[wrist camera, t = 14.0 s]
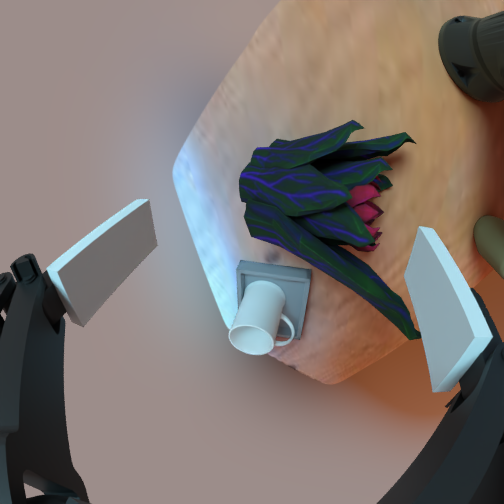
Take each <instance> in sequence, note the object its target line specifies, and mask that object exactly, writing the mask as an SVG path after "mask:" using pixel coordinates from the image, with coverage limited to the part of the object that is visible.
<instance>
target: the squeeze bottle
mask: <svg viewBox="0 0 504 504" xmlns="http://www.w3.org/2000/svg"><path fill="white" fill-rule="evenodd" d="M474 238H475V242H476V246H477V249H478V252H479V254H480V255H481V256H482V257H483V258H484V259H485V260H486V261H487V262H488V263H489V264H490V265H491V266H492V267H493V268H494V269H495V271H496V272H497V273H498V274H499V275H500V276H501V277H502V278H503V279H504V220H503V219H500V218H497V217H493V216H489V215H486V216H483V217H481V218H480V219H479V220H478V221H477V223H476V225H475V227H474Z"/></svg>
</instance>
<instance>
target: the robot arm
mask: <svg viewBox="0 0 504 504" xmlns="http://www.w3.org/2000/svg"><path fill="white" fill-rule="evenodd" d="M438 43H439V51H440V55H441V58H442V61H443V63H444V66H445V68H446V70H447V72H448V73H449V75H450V76H451V78H452V79H453V81H454V82H455V83H456V84H457V85H458V87H459V88H460V89H462V90H463V91H464V92H465V93H466V94H468V95H469V96H471V97H472V98H474V99H476V100H479V101H484V102H499V101H502V100H504V11H501V12H498V13H496V14H493V15H490V16H487V17H485V18H476V17H470V16H457V17H454V18H452V19H450V20H448V21H447V22H445V23H444V25H443V26H442V28H441V30H440V33H439V39H438ZM156 246H157V240H156V235H155V230H154V224H153V219H152V213H151V208H150V201H149V199H137V200H135V201H134V202H133V203H131V204H130V205H128V206H127V207H125V208H124V209H122V210H121V211H119V212H118V213H117V214H115V215H114V216H112V217H111V218H110V219H108V220H107V221H105V222H104V223H103V224H101V225H100V226H99V227H97V228H96V229H95V230H93V231H92V232H91V233H89V234H88V235H87V236H85V237H84V238H83V239H81V240H80V241H79V242H78V243H76V244H75V245H74V246H73V247H71V248H70V249H69V250H68V251H67V252H65V253H64V254H63V255H62V256H60V257H59V258H58V259H57V260H56V261H54V262H53V263H52V264H51V265H50V266H49V267H48V268H47V270H46V271H45V272H44V273H43V274H42V273H41V270H40V268H39V265H38V263H37V261H36V258H35V256H34V255H33V254H26V255H23V256H21V257H19V258H18V259H17V260H15V261H14V262H13V263H12V264H11V266H10V267H11V270H12V272H13V274H14V276H15V278H16V280H17V282H15V280H14V278H13V276H12V274H11V273H10V272H7V273H2V274H0V313H1V311H2V310H4V312H5V313H6V315H7V316H6V320H5V321H4V319H3V317H2V316H1V314H0V504H90V503H89V499H88V496H87V492H86V488H85V485H84V483H83V481H82V479H81V477H80V476H79V474H78V473H77V472H76V470H75V469H74V467H73V464H72V461H71V455H70V449H69V442H68V434H67V426H66V416H65V401H64V377H63V376H64V375H63V374H64V368H63V367H64V338H65V337H64V336H65V319H64V318H63V315H64V314H65V313H66V312H67V314H68V315H69V317H70V319H71V321H72V322H73V323H75V324H77V325H80V326H82V327H84V326H85V325H86V323H87V322H88V321H89V320H90V319H91V317H92V316H93V315H94V314H95V313H96V311H97V310H98V309H99V308H100V307H101V306H102V305H103V304H104V302H105V301H106V300H107V299H108V298H109V297H110V295H112V293H113V292H114V291H115V290H116V289H117V288H118V287H119V286H120V285H121V283H122V282H123V281H124V280H125V279H126V278H127V277H128V276H129V275H130V274H131V273H132V272H133V270H134V269H135V268H136V267H137V266H138V265H139V264H140V263H141V262H142V261H143V260H144V259H145V258H146V257H147V256H148V255H149V254H150V253H151V252H152V251H153V250H154V249H155V248H156ZM404 278H405V281H406V284H407V287H408V290H409V294H410V297H411V300H412V303H413V307H414V310H415V314H416V317H417V321H418V325H419V329H420V332H421V336H422V341H423V345H424V349H425V354H426V358H427V363H428V368H429V372H430V378H431V384H432V390H433V392H445V391H451V390H452V389H453V387H454V386H455V385H456V384H457V383H458V382H459V383H460V387H461V390H460V391H459V392H458V393H457V394H456V395H455V397H454V398H453V399H452V400H451V401H450V402H449V403H448V404H447V405H446V406H445V407H447V408H448V407H449V406H450V407H449V409H448V411H447V412H446V414H445V416H444V417H443V419H442V421H441V422H440V424H439V426H438V427H437V429H436V431H435V432H434V433H433V435H432V436H431V438H430V439H429V441H428V442H427V444H426V445H425V447H424V448H423V449H422V451H421V452H420V454H419V455H418V456H417V458H416V459H415V460H414V462H413V463H412V464H411V465H410V467H409V468H408V469H407V470H406V472H405V473H404V474H403V475H402V476H401V478H400V479H399V480H398V481H397V482H396V483H395V484H394V486H393V487H392V488H391V489H390V490H389V491H388V492H387V493H386V494H385V495H384V496H383V498H382V499H381V500H380V501H379V502H378V503H377V504H504V342H502V340H501V338H500V335H499V333H498V331H497V329H496V326H495V324H494V322H493V320H492V318H491V316H489V312H488V310H487V308H486V306H485V304H484V302H483V300H482V298H481V296H480V295H479V294H478V293H477V292H476V291H475V290H474V289H473V288H469V286H468V284H467V282H466V281H465V279H464V277H463V275H462V274H461V272H460V270H459V268H458V267H457V265H456V263H455V262H454V260H453V258H452V257H451V255H450V254H449V252H448V250H447V249H446V247H445V246H444V244H443V243H442V241H441V240H440V238H439V237H438V235H437V234H436V232H435V231H434V229H433V228H427V227H421V226H419V228H418V232H417V235H416V239H415V242H414V246H413V249H412V252H411V256H410V259H409V262H408V265H407V268H406V271H405V274H404ZM24 483H26V484H28V485H30V486H32V487H34V488H37V489H39V490H41V491H42V492H43V493H44V494H45V495H40V496H35V497H31V498H26V495H25V489H24Z"/></svg>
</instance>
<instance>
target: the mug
mask: <svg viewBox="0 0 504 504" xmlns="http://www.w3.org/2000/svg"><path fill="white" fill-rule="evenodd" d="M285 301H286V298H285V294H284V292H283V290H282V289H281V288H280V287H279V286H277V285H276V284H274V283H272V282H269V281H255V282H252V283H250V284H249V285H248V286H247V287H246V289H245V291H244V297H243V299H242V302H241V304H240V307H239V309H238V312H237V314H236V317H235V319H234V322H233V324H232V327H231V329H230V332H229V340H230V342H231V343H232V345H233V346H234V347H236V348H237V349H239V350H240V351H242V352H244V353H247V354H252V355H263V354H266V353H268V352H270V351H271V350H272V349H273V347H274V346H284V345H287V344H289V343H290V342H291V341H292V340H293V338H294V334H295V330H294V326H293V324H292V322H291V321H290V320H289V319H288V318H287V317H286V316H285V315H284V314H282V309H283V306H284V305H285ZM280 319H282V320H284V321H285V322H286V323H287V324H288V325H289V326H290V328H291V332H292V335H291V338H290V339H289V340H287V341H277V340H275V339H276V335H277V331H278V326H279V322H280Z"/></svg>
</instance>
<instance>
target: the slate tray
mask: <svg viewBox="0 0 504 504" xmlns="http://www.w3.org/2000/svg"><path fill="white" fill-rule="evenodd" d="M236 273H237V297H238V309H239V307H240V304H241V302H242V299H243V297H244V291H245V289H246V287H247V286H248V285H249V284H250V283H252V282H255V281H269V282H272V283H274V284H276V285H277V286H279V287H280V288H281V289H282V290H283V292H284V294H285V298H286V301H285V305H284V306H283V309H282V314H284V315H285V316H286V317H287V318H288V319H289V320H290V321H291V322H292V324H293V326H294V330H295V334H294V338H293V339H299V340H300V337H301V332H302V327H303V321H304V316H305V310H306V304H307V298H308V292H309V286H310V280H311V269H303V268H296V267H288V266H280V265H273V264H265V263H258V262H250V261H243V260H241V261H240V263H239V265H238V267H237V269H236ZM291 335H292V332H291V328H290V326H289V325H288V324H287V323H286V322H285V321H284V320H282V319H280V322H279V326H278V331H277V335H276V336H278V337H285V338H291Z"/></svg>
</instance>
